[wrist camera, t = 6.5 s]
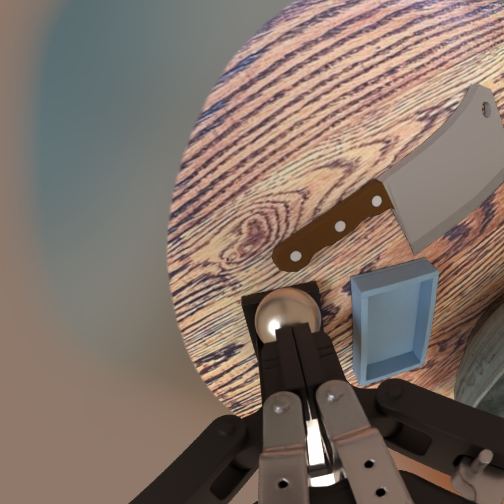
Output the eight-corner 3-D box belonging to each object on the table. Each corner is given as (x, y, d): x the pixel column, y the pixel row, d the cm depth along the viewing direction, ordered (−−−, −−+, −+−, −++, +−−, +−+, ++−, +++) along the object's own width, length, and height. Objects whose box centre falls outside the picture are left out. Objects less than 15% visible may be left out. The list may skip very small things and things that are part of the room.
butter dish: (350, 276, 24) (360, 292, 22) (424, 257, 24) (439, 270, 21) (352, 369, 29) (360, 386, 26) (414, 349, 28) (424, 365, 26)
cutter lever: (251, 294, 16) (245, 296, 13) (309, 281, 16) (318, 280, 13) (293, 489, 15) (295, 519, 12) (343, 478, 15) (353, 506, 12)
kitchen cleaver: (322, 324, 25) (252, 236, 21) (318, 317, 26) (251, 230, 22) (518, 175, 20) (490, 77, 16) (511, 172, 21) (482, 77, 17)
